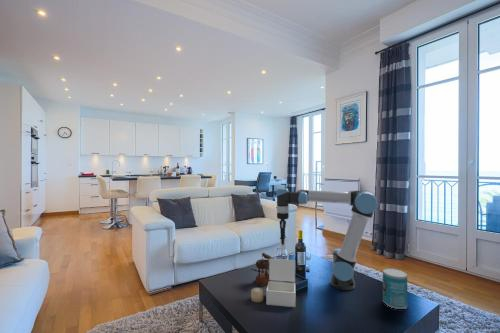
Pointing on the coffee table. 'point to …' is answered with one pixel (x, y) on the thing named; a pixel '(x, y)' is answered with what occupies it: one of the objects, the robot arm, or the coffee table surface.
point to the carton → (280, 294)
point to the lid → (282, 270)
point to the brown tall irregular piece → (263, 264)
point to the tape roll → (257, 295)
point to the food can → (395, 288)
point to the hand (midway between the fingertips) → (282, 248)
